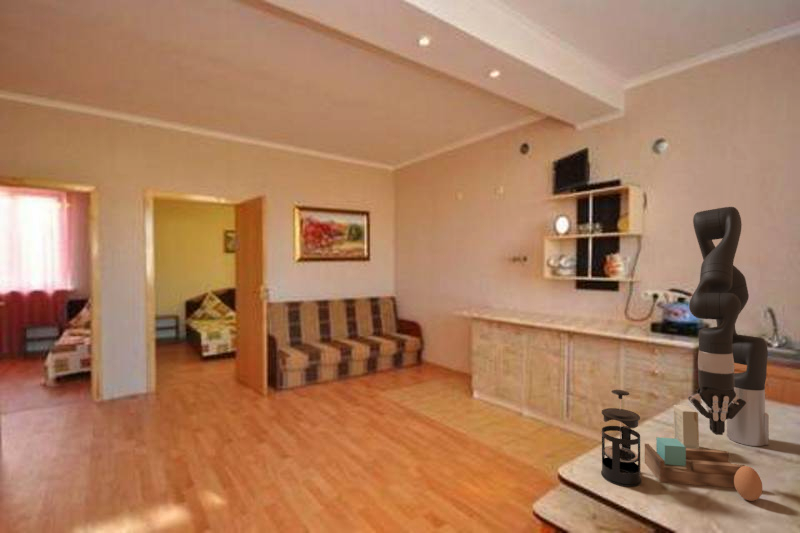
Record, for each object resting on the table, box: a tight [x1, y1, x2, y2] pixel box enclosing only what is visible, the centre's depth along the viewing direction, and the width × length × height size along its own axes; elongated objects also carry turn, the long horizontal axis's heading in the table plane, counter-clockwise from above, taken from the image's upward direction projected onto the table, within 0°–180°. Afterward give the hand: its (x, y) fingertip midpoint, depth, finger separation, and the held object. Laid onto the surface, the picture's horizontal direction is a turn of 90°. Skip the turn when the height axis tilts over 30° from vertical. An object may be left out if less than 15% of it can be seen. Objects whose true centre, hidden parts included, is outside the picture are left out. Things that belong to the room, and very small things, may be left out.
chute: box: [644, 443, 746, 489], centre depth 108 cm, size 20×10×6 cm, turn 79°
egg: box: [734, 465, 763, 502], centre depth 96 cm, size 5×5×8 cm
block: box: [655, 436, 686, 466], centre depth 109 cm, size 5×5×5 cm
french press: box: [600, 389, 642, 488], centre depth 107 cm, size 12×9×23 cm
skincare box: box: [673, 404, 700, 449], centre depth 123 cm, size 6×4×12 cm
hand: (717, 433), depth 106 cm, fingers closed
